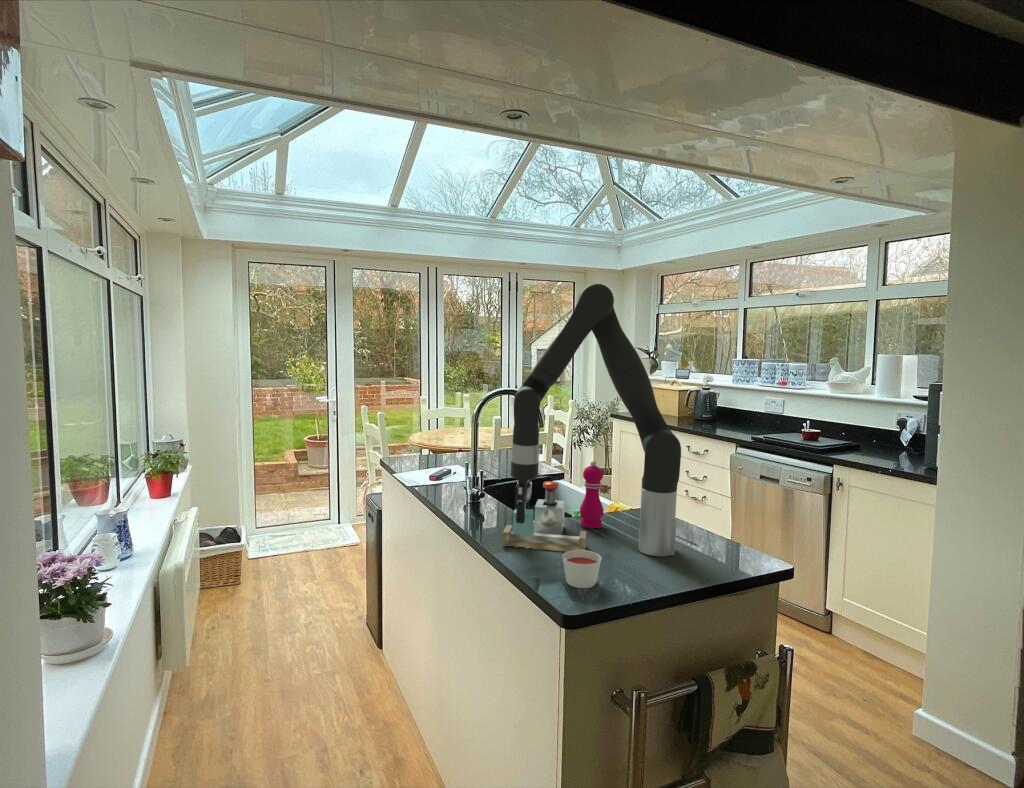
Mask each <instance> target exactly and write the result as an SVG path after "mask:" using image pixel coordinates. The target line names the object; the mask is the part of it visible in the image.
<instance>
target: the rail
mask: <svg viewBox="0 0 1024 788" xmlns="http://www.w3.org/2000/svg"><path fill="white" fill-rule="evenodd" d="M505 546H515V547H514V548H517V547H525V548H524V549H529V548H533V549H532V550H542V551H544V550H545V551H557V552H567V551H571V550H586V546H587V530H580V531H579V536H577V535H564V534H562V535H553V534H540V533H534V532H532V535H519V534H513V524H512V525H509V524H506V525H505V527H504V530H503V531H502V547H505Z"/></svg>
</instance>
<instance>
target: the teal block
mask: <svg viewBox="0 0 1024 788" xmlns="http://www.w3.org/2000/svg"><path fill="white" fill-rule="evenodd" d="M512 516H513V517H512V518H513V520H512V522H513V524H512V531H513V534H519V535H532V533H534V517H535V509H530V508H529V509H525V521H524V523H523V524H522V523H517V522H516V509H515V508H514V511H513V515H512Z"/></svg>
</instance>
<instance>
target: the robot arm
mask: <svg viewBox="0 0 1024 788" xmlns="http://www.w3.org/2000/svg"><path fill="white" fill-rule="evenodd" d="M614 305H615V297H614V294H613V292H612V290H611V289H610V288H609V286H606V285H605V284H603V283H592V284H588V285H587V286H586V287H584V288H583V289H582V290H581V292H580V293H579V294H578V298H577V302H576V304H575V307H574V309H573V311H572V312H571V314H570V317H569V319H568V320H567V322H566V323H565V324H564V327H563V328H562V329H561V330H560V332H559V333H558V334H557V335H556V337H554V339H553V341H552V342H551V343H550V344H549V345H548V347H547V348H546V349H545V351H544V352H543V354H542V355H541V357H540V358H539V360H538V361H537V363H536V364H535V365H534V367H533V369H532V370H531V373H530V374H529V375H528V376H527V378H526V379H525V380H524V382H523V383H522V384H521V385H520V387H519V389H518V390H517V391H516V393H515V395H514V398H513V423H514V424H513V429H512V446H511V451H510V452H511V453H510V477H511V478H513V479H515V480H518V481H517V484H515V488H514V490H515V493H514V494H515V497H514V499H515V500H514V510H515V509H516V522H517V523H522V524H523V523H524V521H525V509H530V500H531V496H532V489H533V488H532V487H533V483H532V480H536V479H538V477H539V460H540V447H539V440H540V427H539V419H540V409H541V403H542V402H543V400H544V398H545V396H546V395H547V394H548V391H550V388H551V387H552V386H554V385H555V384H556V382H557V381H558V380H559V378H560V376H562V374H563V372H564V371H565V370H566V368H567V367H568V366H569V364H570V362H571V361H572V359H573V358H574V355H575V354H576V352H577V350H578V349H579V348H580V346H581V345H582V344H583V342H584V340H585V339H586V337H587V336H588V335H589V334H590V333H591V332H592V334H593V336H594V337H595V339H596V341H597V344H598V347H599V350H600V354H601V357H602V359H603V362H604V365H605V368H606V370H607V373H608V376H609V378H610V380H611V382H612V385H613V386H614V388H615V390H616V392H617V394H618V396H619V398H620V400H621V402H622V403H623V405H624V406H625V408H626V410H627V411H628V412H629V414H630V416H631V417H632V420H633V422H634V425H635V427H636V430H637V433H638V435H639V436H638V437H639V439H640V442H641V445H642V449H643V452H644V463H643V475H642V477H641V491H640V493H641V495H640V513H639V517H640V518H639V533H638V534H639V535H638V550H639V551H640V552H641V553H642V554H645V555H648V556H652V557H662V558H663V557H669V556H675V555H676V554H675V553H676V552H675V551H676V537H677V536H676V535H677V533H676V532H677V520H676V514H677V513H676V510H677V495H678V484H679V481H680V473H681V462H682V461H681V460H682V446H681V442H680V440H679V438H678V437H677V436H676V435H675V434H674V433H673V432H672V430H671V429H670V427H669V426H668V424H667V422H666V421H665V418H664V417H663V415H662V413H661V412H660V409H659V407H658V404H657V401H656V397H655V394H654V390H653V386H652V382H651V380H650V377H649V375H648V371H647V370H646V368H645V365H644V363H643V361H642V359H641V357H640V355H639V354H638V352H637V350H636V349H635V347H634V346H633V345H634V344H632V343H631V341H630V339H629V338H628V337H627V335H626V333H625V332H624V331H623V328H622V326H621V325H620V322H619V319H618V316H617V314H616V310H615V307H614ZM519 503H520V504H519Z"/></svg>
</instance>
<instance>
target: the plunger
mask: <svg viewBox="0 0 1024 788" xmlns="http://www.w3.org/2000/svg"><path fill="white" fill-rule="evenodd" d="M542 488H544V489H545V492H544V493H545V494H544V500H545V505H546V506H555V500H556V491H557V489H558V488H559V482H557V481H552V480H551V481H550V480H549V481H548V480H546V481H543V484H542Z"/></svg>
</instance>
